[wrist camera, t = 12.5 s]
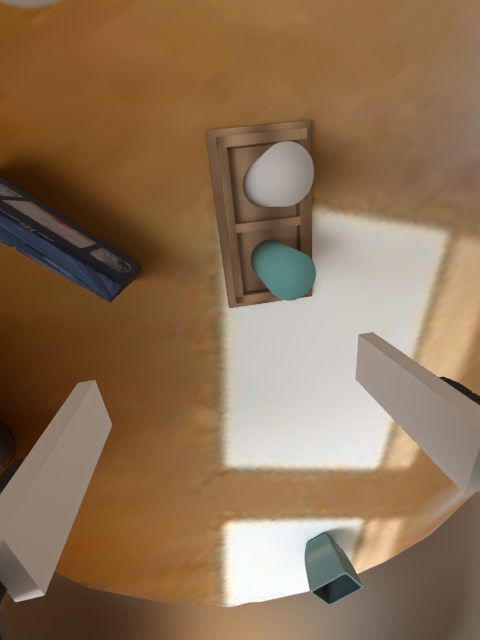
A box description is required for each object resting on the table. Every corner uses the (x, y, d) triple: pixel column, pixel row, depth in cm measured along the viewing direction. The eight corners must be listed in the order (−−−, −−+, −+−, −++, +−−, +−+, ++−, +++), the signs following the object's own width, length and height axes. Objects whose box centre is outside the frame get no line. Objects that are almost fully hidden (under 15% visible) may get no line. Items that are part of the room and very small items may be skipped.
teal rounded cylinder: (252, 280, 37) (268, 303, 28) (248, 242, 35) (264, 254, 26) (288, 275, 37) (315, 296, 28) (286, 237, 35) (315, 247, 26)
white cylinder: (244, 209, 33) (260, 209, 24) (240, 163, 31) (255, 144, 22) (284, 204, 34) (314, 203, 24) (282, 158, 32) (313, 138, 23)
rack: (228, 305, 39) (230, 311, 37) (205, 132, 31) (205, 126, 28) (309, 294, 40) (316, 299, 37) (307, 122, 32) (315, 115, 29)
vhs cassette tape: (143, 266, 36) (122, 285, 26) (131, 283, 36) (107, 308, 27) (-7, 165, 30) (-102, 146, 20) (-18, 189, 30) (-114, 180, 21)
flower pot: (344, 540, 65) (365, 588, 57) (313, 557, 66) (329, 606, 58) (327, 523, 62) (346, 572, 53) (295, 542, 63) (309, 592, 54)
